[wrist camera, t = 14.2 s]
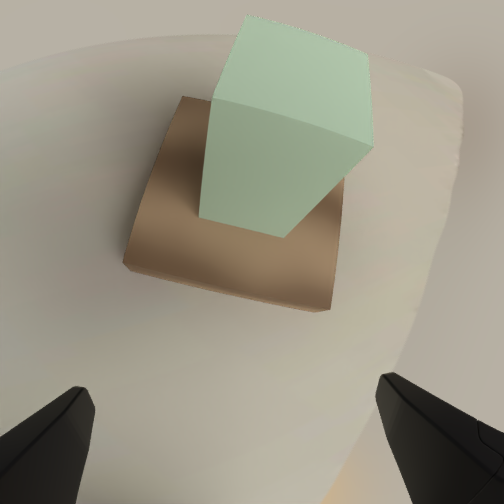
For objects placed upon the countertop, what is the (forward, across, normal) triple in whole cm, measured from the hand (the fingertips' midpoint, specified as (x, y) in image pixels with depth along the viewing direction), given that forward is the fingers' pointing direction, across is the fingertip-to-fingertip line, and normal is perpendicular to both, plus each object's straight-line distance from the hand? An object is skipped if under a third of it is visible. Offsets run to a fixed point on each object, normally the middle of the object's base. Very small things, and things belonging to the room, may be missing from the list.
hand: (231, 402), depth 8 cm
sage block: (+12, -1, -4) cm, 13 cm away
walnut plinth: (+14, -1, -3) cm, 15 cm away
